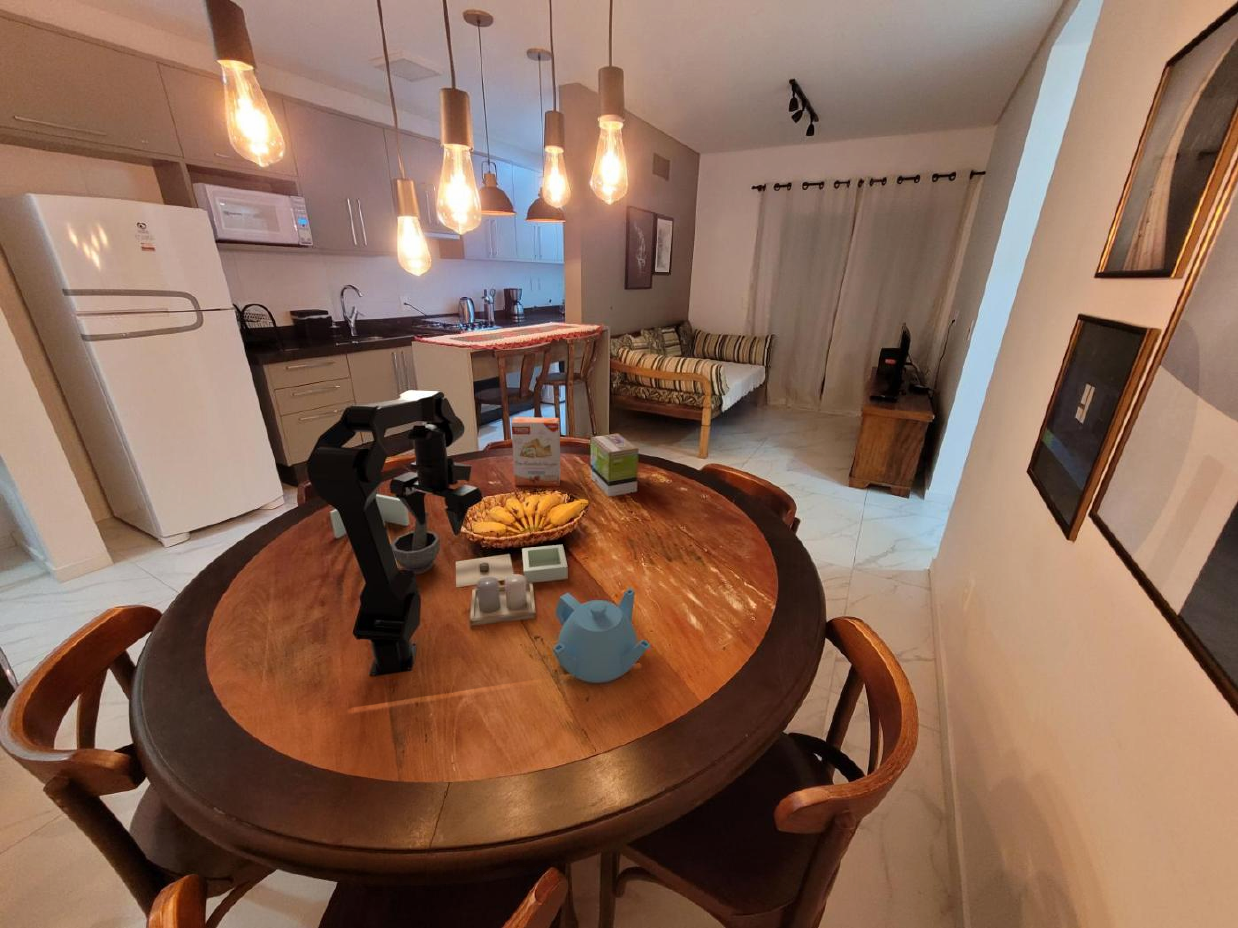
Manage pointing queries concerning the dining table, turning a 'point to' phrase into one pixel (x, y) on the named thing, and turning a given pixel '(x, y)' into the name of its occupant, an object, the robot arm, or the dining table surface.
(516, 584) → the pale pebble
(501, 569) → the tray lid
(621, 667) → the teapot
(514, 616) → the birch tray
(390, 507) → the right angle wall
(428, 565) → the mortar and pestle
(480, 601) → the grey rounded piece
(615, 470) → the tea box
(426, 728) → the dining table surface
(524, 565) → the sage bin
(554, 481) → the cracker box
